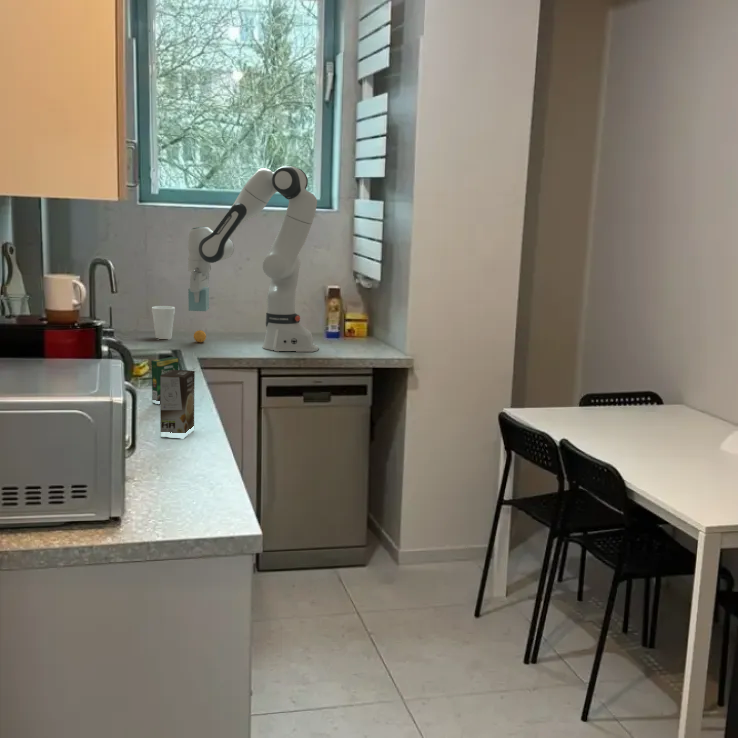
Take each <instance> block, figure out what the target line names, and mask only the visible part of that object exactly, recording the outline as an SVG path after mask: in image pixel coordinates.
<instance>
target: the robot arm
mask: <svg viewBox="0 0 738 738" xmlns="http://www.w3.org/2000/svg"><path fill="white" fill-rule="evenodd" d="M308 184H309V180H308V177H307V175H306V173H305V171H304V170H303V169H300V168H298V167H296V166H293V165H289V166H288V165H283V166H280V167H278V168H277V169H276V170H274V171H272V170H271V169H269V168H265V167H263V168H259V169H258V170H256V172H254V173H253V174H252V176H251V177H250V178H249V179H248V180H247V182H246V183H245V185H244V186H243V187H242V189H241V190H240V192H239V194H238V195H237V197H236V199H235V200H234V203H233V204H232V206H230V209H229V210H228V212H227V213H226V214H225V215H224V216H223V218H222V219H221V221H220V222H219V223H218V225H217V226H216V228H215V229H213V230H212V229H211V228H210V227H209V226H206V225H205V226H199V227H197V226H195V227H193V228H191V229H190V230H189V233H188V241H187V248H188V253H189V255H188V258H187V259H188V260H187V263H188V264H187V269H188V270H187V271H188V272H191V273H190V279H189V288H190V291H191V292H194V298H195V302H196V303H198V302H200V298H199V294H200V291H202V289H203V288H205V287H209V281H210V272H211V270H212V266H211V263H216V262H219V261H223V260H228V259H229V258H230V257H232V255H233V254H234V251H235V245H234V242H233V240H232V239H231V237H232V236H233V234H234V233H235V232H236V230H237V229H238V227H239V226H240V225H242V224H243V223H244V222H246V221H249V220H250V219H252V218H254V217H257V216H258V215H259V214H260V213H261V212H262V211H264V209H265V207H266V206H267V204H268V203H269V201H270V200H271V198H272V197H273V196H274V194H276V193H278V194H280V195H281V196H283V197H284V198H285V199H286V200H288V206H287V209H286V210H285V214H284V216H283V220H282V222H281V224H280V228H279V231H278V233H277V235H276V237H275V239H274V241H273V242H272V244H271V246H270V249H269V251H268V252H267V255H266V256H265V258H264V259H263V262H262V270H263V272H264V273H265V275H266V276H267V277H268V278H270V283H269V289H268V290H267V299H266V300H267V301H266V302H267V306H266V307H267V308H266V311H267V312H266V314H265V327H266V328H265V329H266V330H265V336H264V340H263V344H262V348H263V349H264V350H269V351H270V350H271V351H273V350H274V351H273V352H279V351H296V352H299V353H300V352H301V353H305V352H307V353H309V352H312V353H313V352H317V351H318V350H319V345H318V344H316V343H314V338H313V334H312V332H311V331H310V330H309V329H308V328H306V327H305V326H304V325H303V324H301V323H300V321H301V316H300V314H297V313H296V293H297V291H296V290H297V286H298V281H299V272H300V268H301V259H300V257H299V254H300V252H301V250H302V248H303V246H304V245H305V243H306V241H307V238H308V236H309V233H310V230H311V228H312V225H313V222H314V220H315V215H316V212H317V205H318V199H317V197H316V195H314V193H312V192H311V191H308V190H307V188H308Z"/></svg>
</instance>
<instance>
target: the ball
mask: <svg viewBox="0 0 738 738" xmlns="http://www.w3.org/2000/svg"><path fill="white" fill-rule="evenodd" d="M193 339H194V341H195V342H197V343H203V342H205V340H206V339H207V334H206V332H205V331H204V330H201V329H199V330H196V331H194V333H193Z"/></svg>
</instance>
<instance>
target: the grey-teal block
mask: <svg viewBox="0 0 738 738" xmlns="http://www.w3.org/2000/svg"><path fill="white" fill-rule="evenodd" d="M199 298H200V302H198V303H196V302H195V298H194V292H191V291H190V287H189V288H188V299H187V300H188V312H207V311H208V310H210V287H209V286H208V287H205V288H203V289H202V291H200V294H199Z"/></svg>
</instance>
